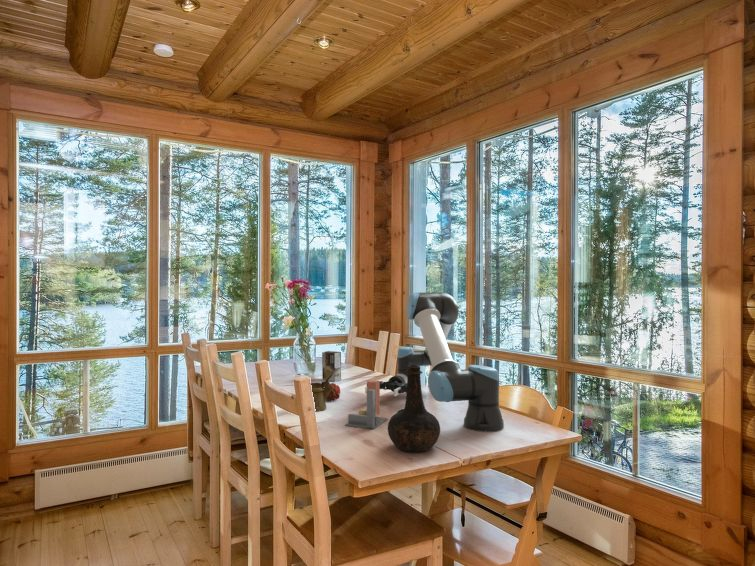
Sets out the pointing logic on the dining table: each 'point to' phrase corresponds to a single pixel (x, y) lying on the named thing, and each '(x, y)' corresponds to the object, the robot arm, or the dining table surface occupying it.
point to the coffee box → (331, 365)
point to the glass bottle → (413, 418)
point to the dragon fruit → (333, 392)
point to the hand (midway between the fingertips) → (380, 391)
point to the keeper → (366, 415)
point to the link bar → (375, 385)
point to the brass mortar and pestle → (321, 392)
